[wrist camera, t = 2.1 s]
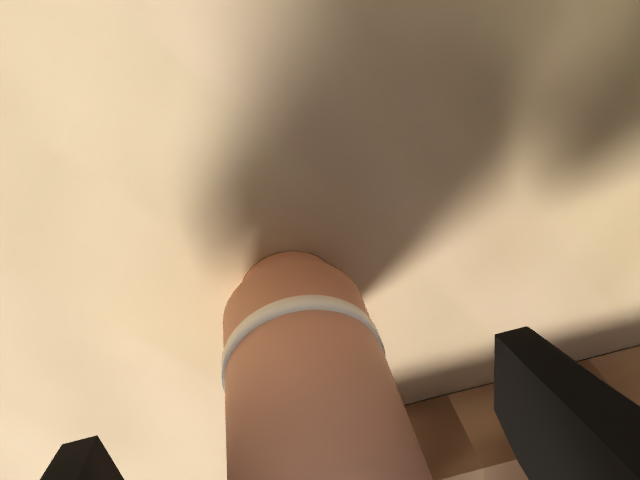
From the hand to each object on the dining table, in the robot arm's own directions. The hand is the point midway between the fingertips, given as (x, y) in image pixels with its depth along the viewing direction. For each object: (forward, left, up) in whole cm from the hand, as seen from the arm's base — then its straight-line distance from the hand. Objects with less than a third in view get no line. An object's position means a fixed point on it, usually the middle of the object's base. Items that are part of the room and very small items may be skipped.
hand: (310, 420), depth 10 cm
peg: (0, 0, -4) cm, 4 cm away
